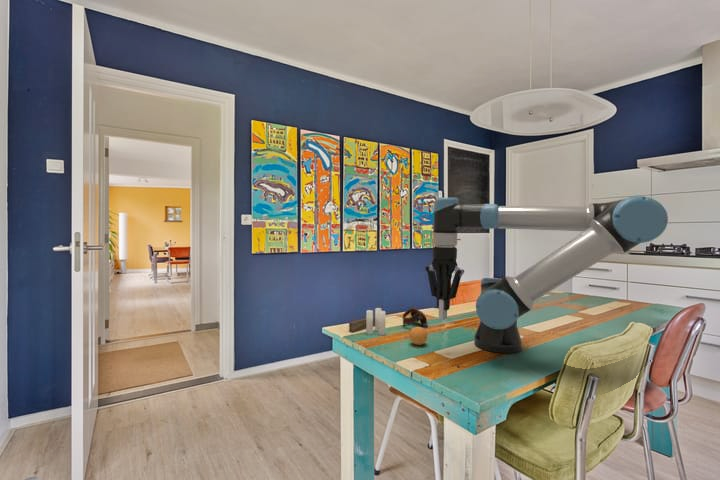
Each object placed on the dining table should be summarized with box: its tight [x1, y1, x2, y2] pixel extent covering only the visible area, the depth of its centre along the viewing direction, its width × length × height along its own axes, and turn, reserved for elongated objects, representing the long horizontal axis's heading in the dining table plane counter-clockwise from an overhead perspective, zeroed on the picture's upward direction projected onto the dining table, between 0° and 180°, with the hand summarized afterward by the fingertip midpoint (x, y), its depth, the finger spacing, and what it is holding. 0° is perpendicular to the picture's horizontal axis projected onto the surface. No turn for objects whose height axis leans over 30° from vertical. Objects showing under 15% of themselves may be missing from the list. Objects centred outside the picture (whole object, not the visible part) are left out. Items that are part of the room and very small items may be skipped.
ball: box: [409, 326, 428, 346], centre depth 123 cm, size 6×6×6 cm
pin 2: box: [374, 307, 383, 332], centre depth 139 cm, size 2×2×8 cm
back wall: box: [348, 316, 375, 333], centre depth 141 cm, size 2×13×4 cm, turn 137°
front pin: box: [378, 310, 387, 336], centre depth 134 cm, size 2×2×8 cm
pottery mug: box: [402, 307, 429, 329], centre depth 147 cm, size 12×10×8 cm
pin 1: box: [365, 309, 374, 335], centre depth 135 cm, size 2×2×8 cm
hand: (442, 319), depth 117 cm, fingers closed
